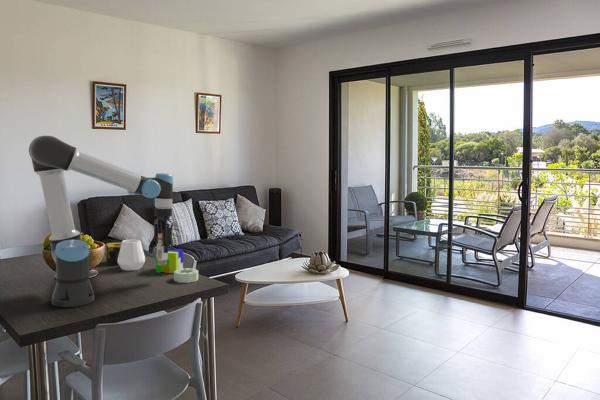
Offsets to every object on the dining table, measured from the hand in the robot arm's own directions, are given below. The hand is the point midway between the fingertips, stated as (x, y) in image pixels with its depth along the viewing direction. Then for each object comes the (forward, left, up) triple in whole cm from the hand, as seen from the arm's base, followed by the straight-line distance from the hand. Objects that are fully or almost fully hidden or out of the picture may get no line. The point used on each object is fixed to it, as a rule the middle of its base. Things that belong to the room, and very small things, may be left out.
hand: (162, 258), depth 217 cm
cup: (0, +31, -11) cm, 33 cm away
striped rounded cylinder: (0, 0, -3) cm, 3 cm away
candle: (-1, +46, -11) cm, 47 cm away
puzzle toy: (+13, +16, -11) cm, 23 cm away
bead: (+10, -4, -11) cm, 15 cm away
